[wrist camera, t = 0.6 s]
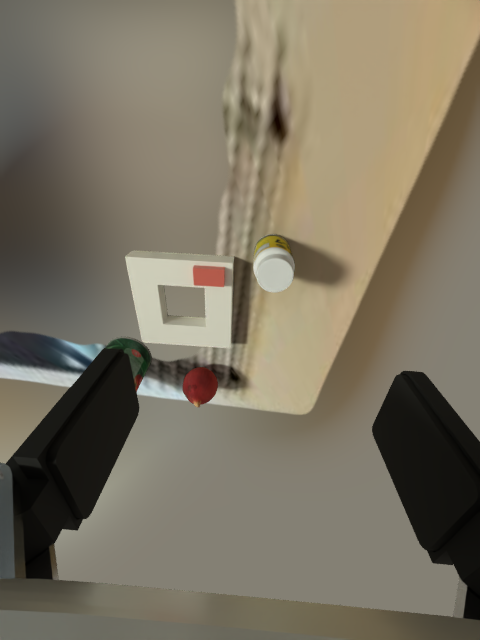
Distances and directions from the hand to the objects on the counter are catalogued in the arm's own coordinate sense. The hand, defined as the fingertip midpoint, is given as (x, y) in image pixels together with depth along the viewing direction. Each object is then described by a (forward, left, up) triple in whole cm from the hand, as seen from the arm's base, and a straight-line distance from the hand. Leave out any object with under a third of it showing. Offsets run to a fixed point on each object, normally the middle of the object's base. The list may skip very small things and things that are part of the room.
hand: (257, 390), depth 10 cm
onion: (+27, -8, -28) cm, 40 cm away
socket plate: (+12, -10, -28) cm, 32 cm away
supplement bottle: (+4, +2, -28) cm, 29 cm away
